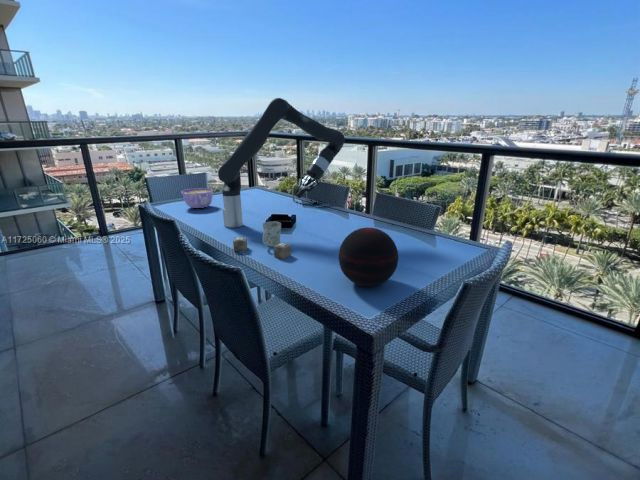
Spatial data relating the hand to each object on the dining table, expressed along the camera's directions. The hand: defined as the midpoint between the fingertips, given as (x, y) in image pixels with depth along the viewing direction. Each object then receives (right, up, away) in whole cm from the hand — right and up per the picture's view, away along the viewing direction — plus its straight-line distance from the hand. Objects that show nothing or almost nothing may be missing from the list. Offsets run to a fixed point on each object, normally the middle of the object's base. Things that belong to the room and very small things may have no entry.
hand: (297, 197), depth 153 cm
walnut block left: (-25, -24, -7) cm, 36 cm away
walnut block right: (-5, -27, -15) cm, 31 cm away
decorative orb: (+27, -35, -38) cm, 59 cm away
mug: (-12, -23, -3) cm, 26 cm away
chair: (+1, +6, +80) cm, 80 cm away
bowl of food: (-70, +1, +67) cm, 97 cm away
